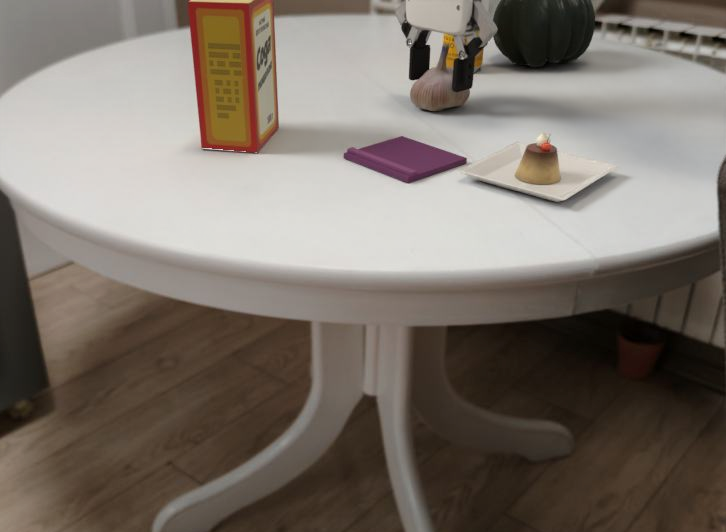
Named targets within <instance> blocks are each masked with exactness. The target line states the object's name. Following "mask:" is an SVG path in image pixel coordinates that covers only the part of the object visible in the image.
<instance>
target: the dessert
mask: <svg viewBox="0 0 726 532" xmlns="http://www.w3.org/2000/svg"><path fill="white" fill-rule="evenodd" d="M550 137H551V133H550V134H549V135H547V133H545V132H542V133H541V134H540V135H538V136H537V138H536V141H535V143H530V144H528V143H525V142H520V141H516V142H514V143H512V144H509V145H508V146H506V147H503V148H501V149H500V150H497V151H495V152H493V153H491V154H489V155H487V156H485V157H483V158H481V159H479V160H477V161H475V162H473V163H470V164H469V165H467V166H464V167H462V168H460V169H458V170H457V172H459V173H460V174H463V175H465V176H467V177H469V178H471V179H474V180H475V181H479V182H483V183H486V184H490V185H493V186H497V187H500V188H504V189H507V190H511V191H515V192H519V193H521V194H522V193H523V194H526V195H529V196H532V197H533V196H534V197H537V198H540V199H544V200H547V201H551V202H554V203H558V202H562V201H566V200H568V199H570V198H572V197H573V196H574V195H576V194H578V193H579V192H581V191H583V190H585V188H587V187H589V186H591V185H592V184H593V183H595V182H597V181H599V180H600V179H602V178H603V177H605V176H606V175H608V174H610V173H611V172H613V171H615V170H616V169H618V168H619V165H618V164H617V165H616V164H612V163H609V162H608V163H607V162H605V161H599V160H595V159H591V158H587V157H583V156H578V155H574V154H570V153H565V152H562V151H558V148H557V147H556V146H555V145H552V144H551V138H550Z"/></svg>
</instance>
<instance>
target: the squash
mask: <svg viewBox="0 0 726 532" xmlns="http://www.w3.org/2000/svg"><path fill="white" fill-rule="evenodd" d="M593 5H594V4H593V2H592V0H500V1H499V3H497V5H496V7H495V9H494V10H495V11H494V14H493V16H492V20H493V21H494V23H495V24H496V26H497V32H496V34H495V35H494V36H493V37H492V38H493V41H494V44H495V46H496V48H497V49H498V50H499V52H500V53H501V54H502V55H503V56H504V57H505V58H507V59H508V60H509V61H510V62H511V63H512V64H514V65H517V66H529V67H531V68H540V67H543V66H544V65H545V64H547V61H548V62H549V63H550V64H554V63H558V64H568V63H572V62H573V61H575V60H577V59H579V58H580V57H581V56H583V55H584V54H585V52H587V50H588V48H589V47H590V45H591V43H592V41H593V37H594V32H595V26H596V12H595V9H594V6H593Z"/></svg>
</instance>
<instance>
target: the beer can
mask: <svg viewBox="0 0 726 532" xmlns="http://www.w3.org/2000/svg"><path fill="white" fill-rule="evenodd" d="M475 32H476V36H477V35H478V33H479V31H475ZM464 39H465V43H466V45H467V44H468V43H467V39H466V37H464ZM443 44H447V45H449V51H448V54H447V59H446V68H449V69H452V70H453V64H454V59H456V58H459V57H458V53H457V50H456V46H455V42H454V38H453V35H449V34H444V33H442V45H443ZM484 50H485V47H484V48H483V49H482V50H481V51H480V54H479V56H476V57H475V63H474V73H475V72H477V71H479V68H480V67H482V66H483V62H484V61H483V59H484Z"/></svg>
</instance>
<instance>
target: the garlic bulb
mask: <svg viewBox="0 0 726 532" xmlns="http://www.w3.org/2000/svg"><path fill="white" fill-rule="evenodd" d="M448 51H449V45H447V44H443V43H442V46H441V50H440V55H439V59H438V61H437V64H436V66H435V67H431V68H429V70H427V71H426V72H425V73H424V74H423V75H422V77H421V78H419V79H418V80H415V81H414V82H413V84H412V85H411V88H410V92H409V97H410V101H411V103H412V104H413V105H414V106H415V107H416V108H418V109H420V110H425V111H426V110H427V111H431V112H436V111H437V112H439V111H441V110H442V111H443V110H445V109H448V108H449V109H450V108H454V107H459V106H463V105H464V104H465V103H466V102H467V101H468V100H469V98H470V95H471V89H468V90H464V91H460V92H454V91H453V90H452V78H453V70H452V69H449V68H446V59H447V54H448Z"/></svg>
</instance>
